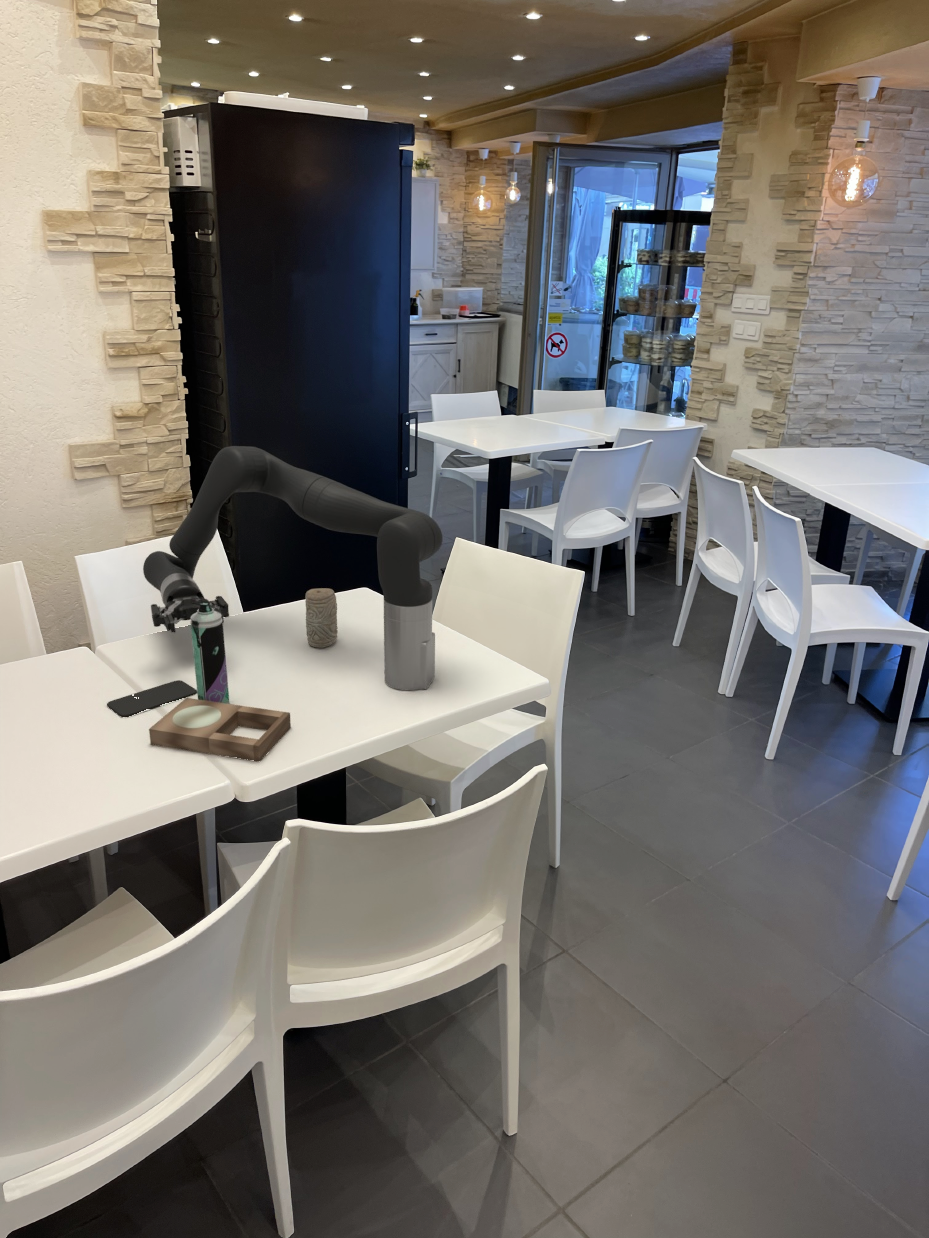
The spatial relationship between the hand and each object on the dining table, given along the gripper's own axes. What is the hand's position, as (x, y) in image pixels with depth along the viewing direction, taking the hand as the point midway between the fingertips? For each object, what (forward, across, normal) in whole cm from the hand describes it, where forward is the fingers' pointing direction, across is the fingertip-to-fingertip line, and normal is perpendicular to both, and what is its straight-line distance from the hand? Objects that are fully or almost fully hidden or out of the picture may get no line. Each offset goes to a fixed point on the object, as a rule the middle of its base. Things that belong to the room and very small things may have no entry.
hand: (196, 624), depth 170 cm
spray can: (+11, 0, +12) cm, 16 cm away
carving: (-8, +27, +12) cm, 30 cm away
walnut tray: (+24, -1, +12) cm, 26 cm away
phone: (+4, -10, +12) cm, 16 cm away
